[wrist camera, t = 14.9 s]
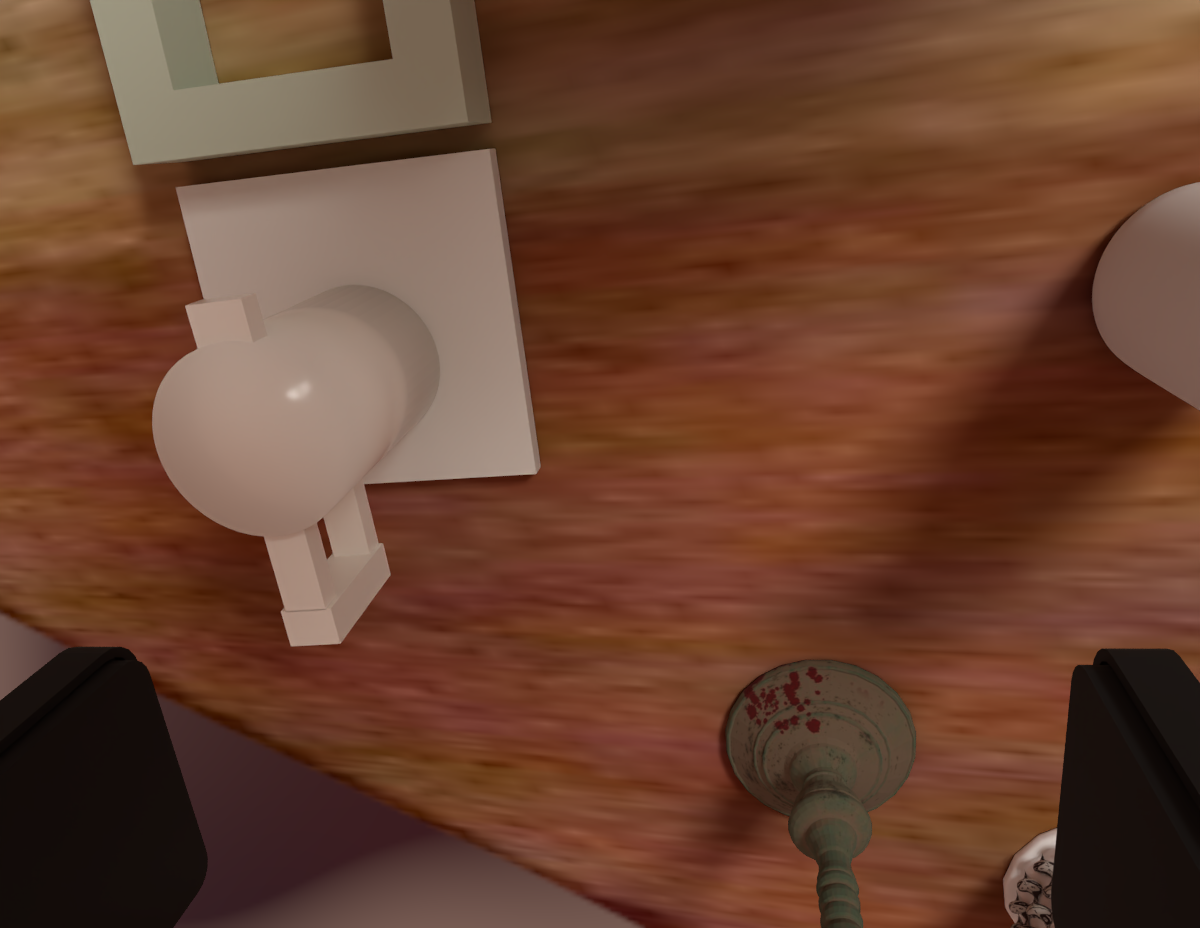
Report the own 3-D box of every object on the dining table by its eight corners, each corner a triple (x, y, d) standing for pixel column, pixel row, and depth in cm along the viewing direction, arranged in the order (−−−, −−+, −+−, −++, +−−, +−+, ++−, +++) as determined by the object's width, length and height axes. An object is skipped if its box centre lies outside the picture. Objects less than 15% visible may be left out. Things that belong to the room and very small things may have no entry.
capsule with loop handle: (262, 265, 40) (112, 315, 30) (415, 244, 39) (310, 290, 29) (334, 536, 45) (223, 656, 35) (473, 526, 43) (399, 647, 34)
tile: (188, 185, 41) (175, 187, 40) (495, 148, 38) (489, 148, 37) (262, 483, 45) (251, 490, 44) (540, 466, 43) (536, 473, 42)
